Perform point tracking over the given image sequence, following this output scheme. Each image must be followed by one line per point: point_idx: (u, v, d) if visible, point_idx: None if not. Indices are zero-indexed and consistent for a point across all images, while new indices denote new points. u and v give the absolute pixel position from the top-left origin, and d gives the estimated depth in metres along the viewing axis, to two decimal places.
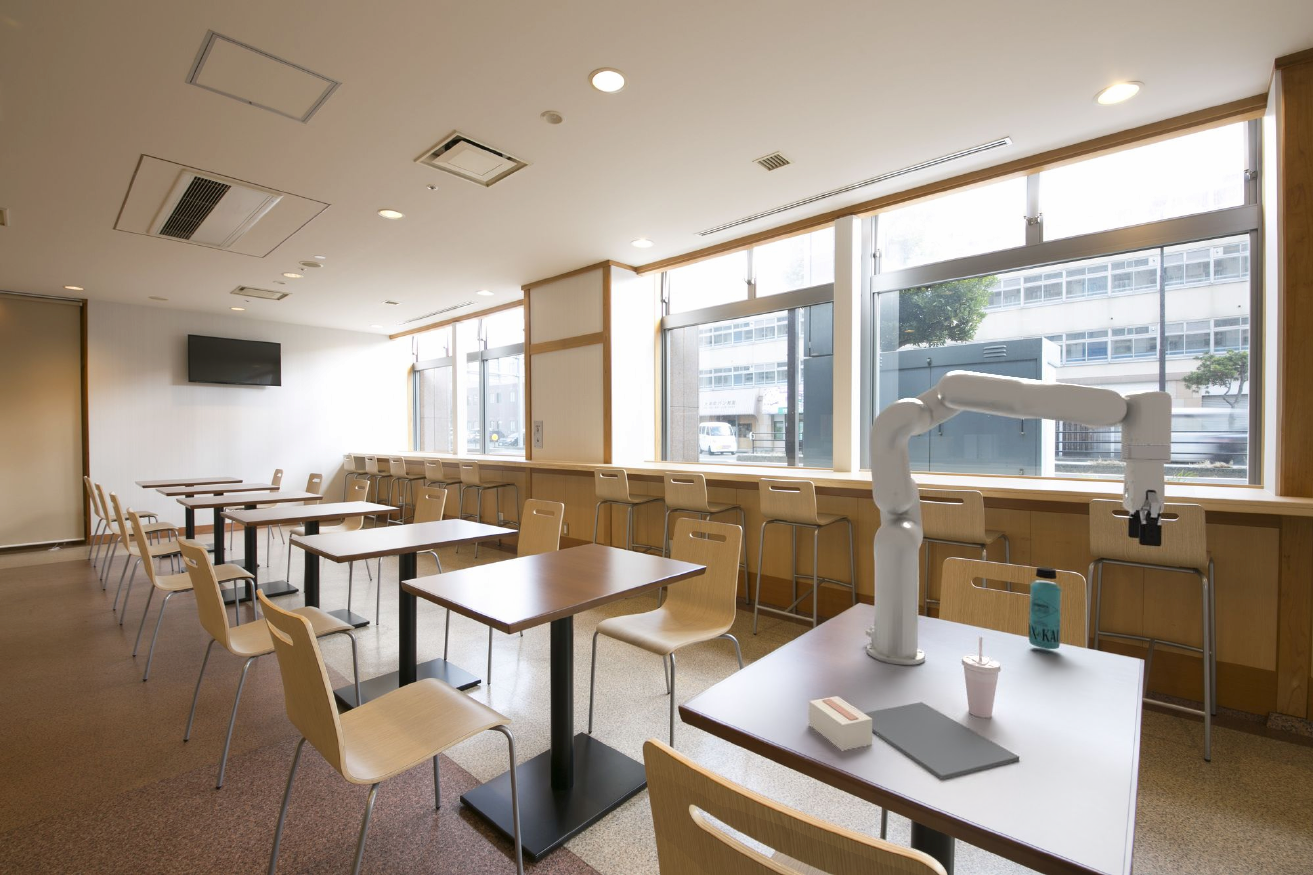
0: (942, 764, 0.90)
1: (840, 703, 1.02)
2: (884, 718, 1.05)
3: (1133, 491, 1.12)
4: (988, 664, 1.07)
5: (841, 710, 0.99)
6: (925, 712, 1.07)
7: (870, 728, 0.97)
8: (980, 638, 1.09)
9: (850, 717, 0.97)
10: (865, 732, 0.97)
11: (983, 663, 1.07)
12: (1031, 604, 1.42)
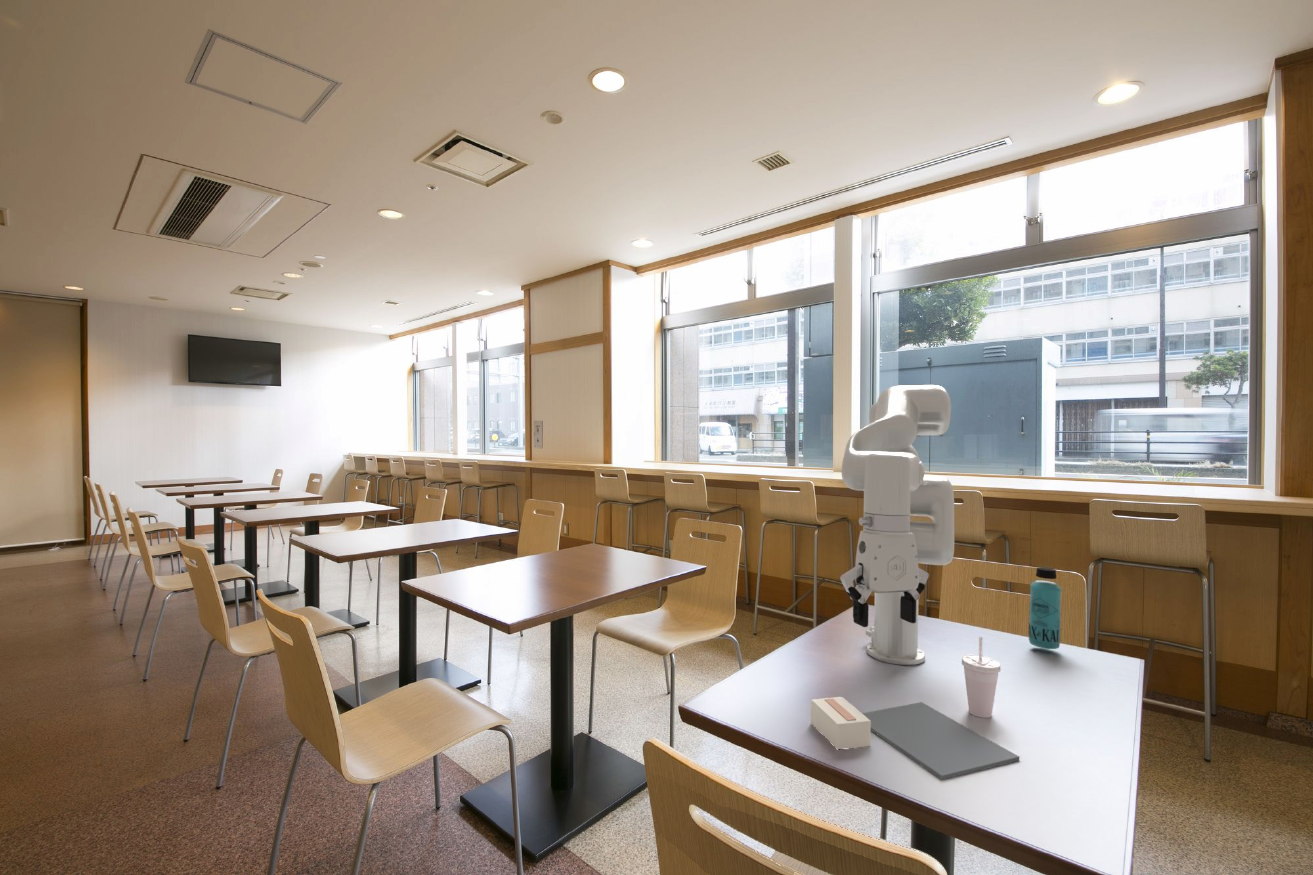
0: (942, 764, 0.90)
1: (842, 703, 1.02)
2: (884, 718, 1.05)
3: (917, 566, 1.01)
4: (988, 664, 1.07)
5: (841, 710, 0.99)
6: (925, 712, 1.07)
7: (868, 730, 0.96)
8: (980, 638, 1.09)
9: (848, 717, 0.97)
10: (862, 734, 0.96)
11: (983, 663, 1.07)
12: (1031, 604, 1.42)
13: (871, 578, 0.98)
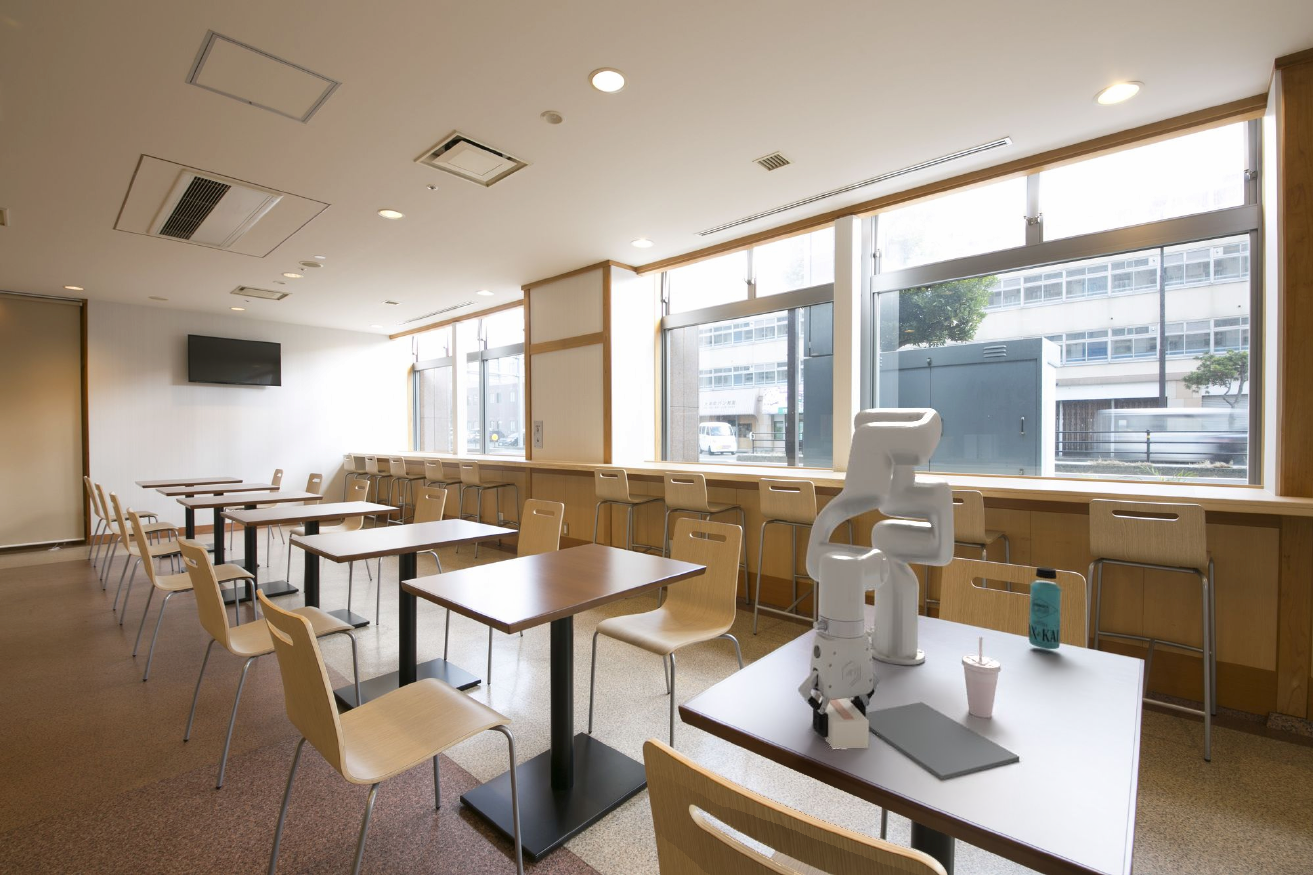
0: (942, 764, 0.90)
1: (844, 703, 1.02)
2: (884, 718, 1.05)
3: (872, 669, 0.99)
4: (988, 664, 1.07)
5: (840, 709, 0.99)
6: (925, 712, 1.07)
7: (866, 730, 0.96)
8: (980, 638, 1.09)
9: (845, 716, 0.97)
10: (860, 733, 0.96)
11: (983, 663, 1.07)
12: (1031, 604, 1.42)
13: (826, 686, 0.96)
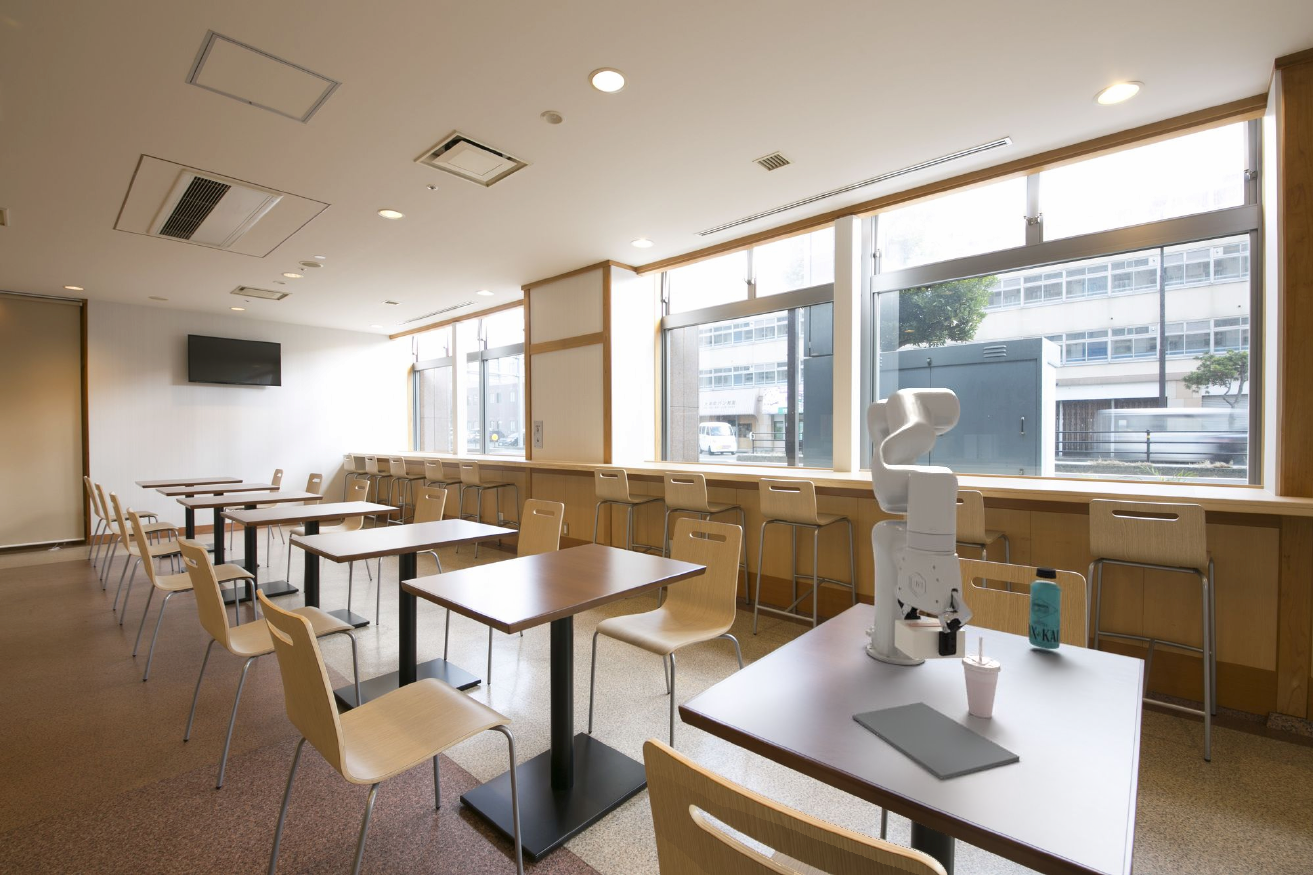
0: (942, 764, 0.90)
1: None
2: (884, 718, 1.05)
3: (940, 591, 0.94)
4: (988, 664, 1.07)
5: (925, 624, 1.00)
6: (925, 712, 1.07)
7: (912, 640, 0.96)
8: (980, 638, 1.09)
9: (910, 624, 1.00)
10: (908, 641, 0.97)
11: (983, 663, 1.07)
12: (1031, 604, 1.42)
13: (897, 587, 1.03)
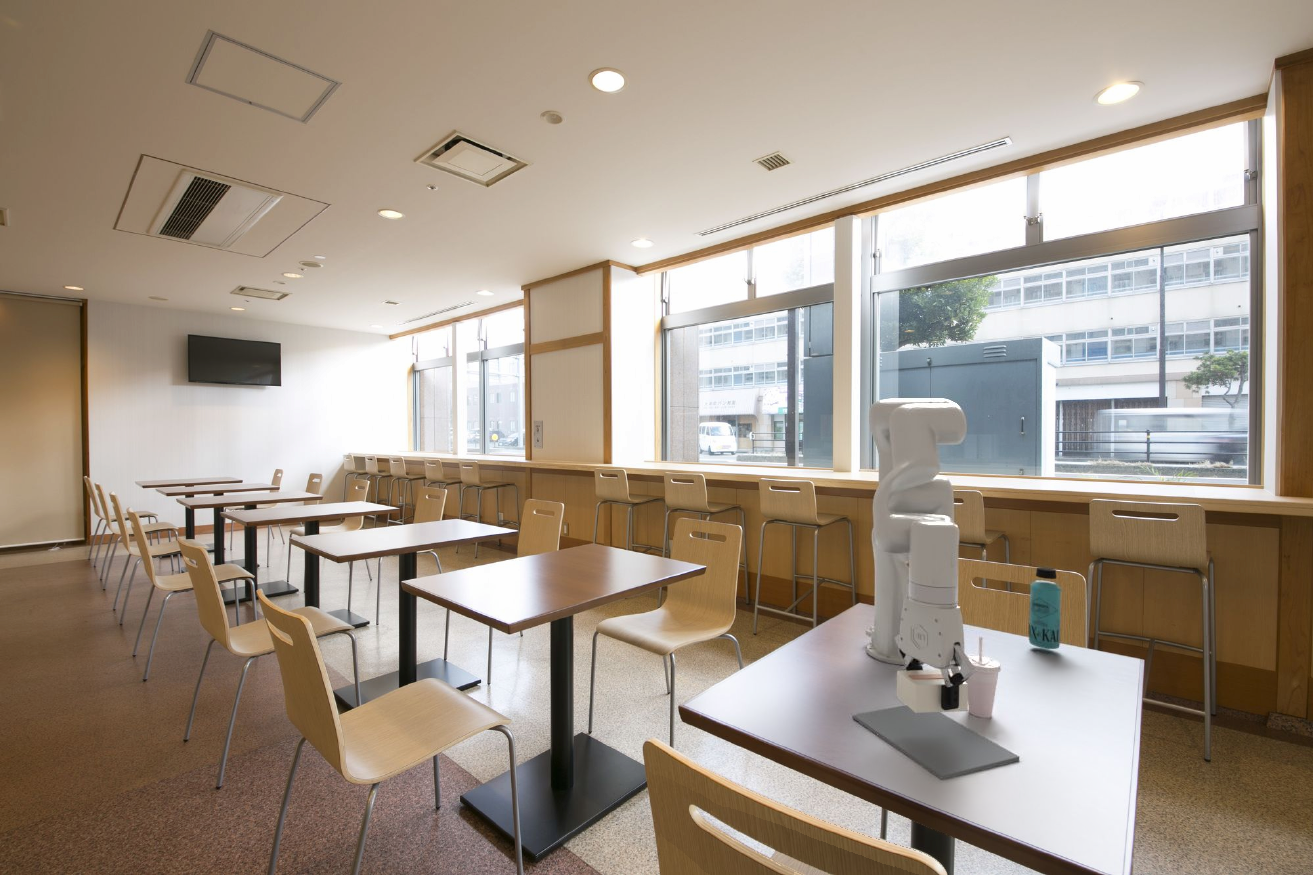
0: (942, 764, 0.90)
1: None
2: (884, 718, 1.05)
3: (942, 645, 0.94)
4: (988, 664, 1.07)
5: (927, 676, 0.99)
6: None
7: (914, 693, 0.96)
8: (980, 638, 1.09)
9: (912, 675, 0.99)
10: (911, 694, 0.97)
11: (983, 663, 1.07)
12: (1031, 604, 1.42)
13: (899, 637, 1.03)
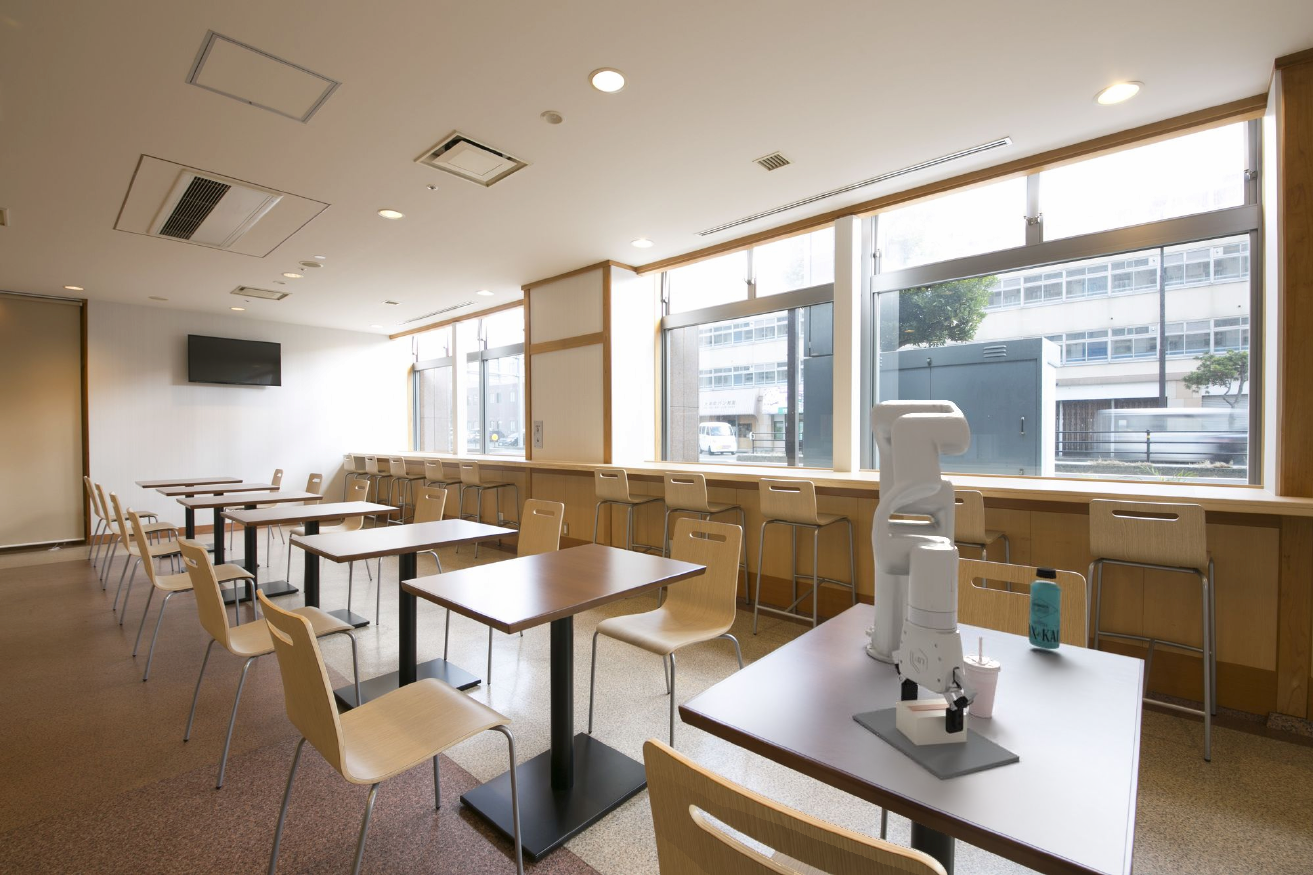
0: (942, 764, 0.90)
1: None
2: (884, 718, 1.05)
3: (941, 670, 0.94)
4: (988, 664, 1.07)
5: (927, 706, 0.99)
6: None
7: (915, 726, 0.96)
8: (980, 638, 1.09)
9: (912, 707, 0.99)
10: (911, 726, 0.97)
11: (983, 663, 1.07)
12: (1031, 604, 1.42)
13: (899, 659, 1.03)
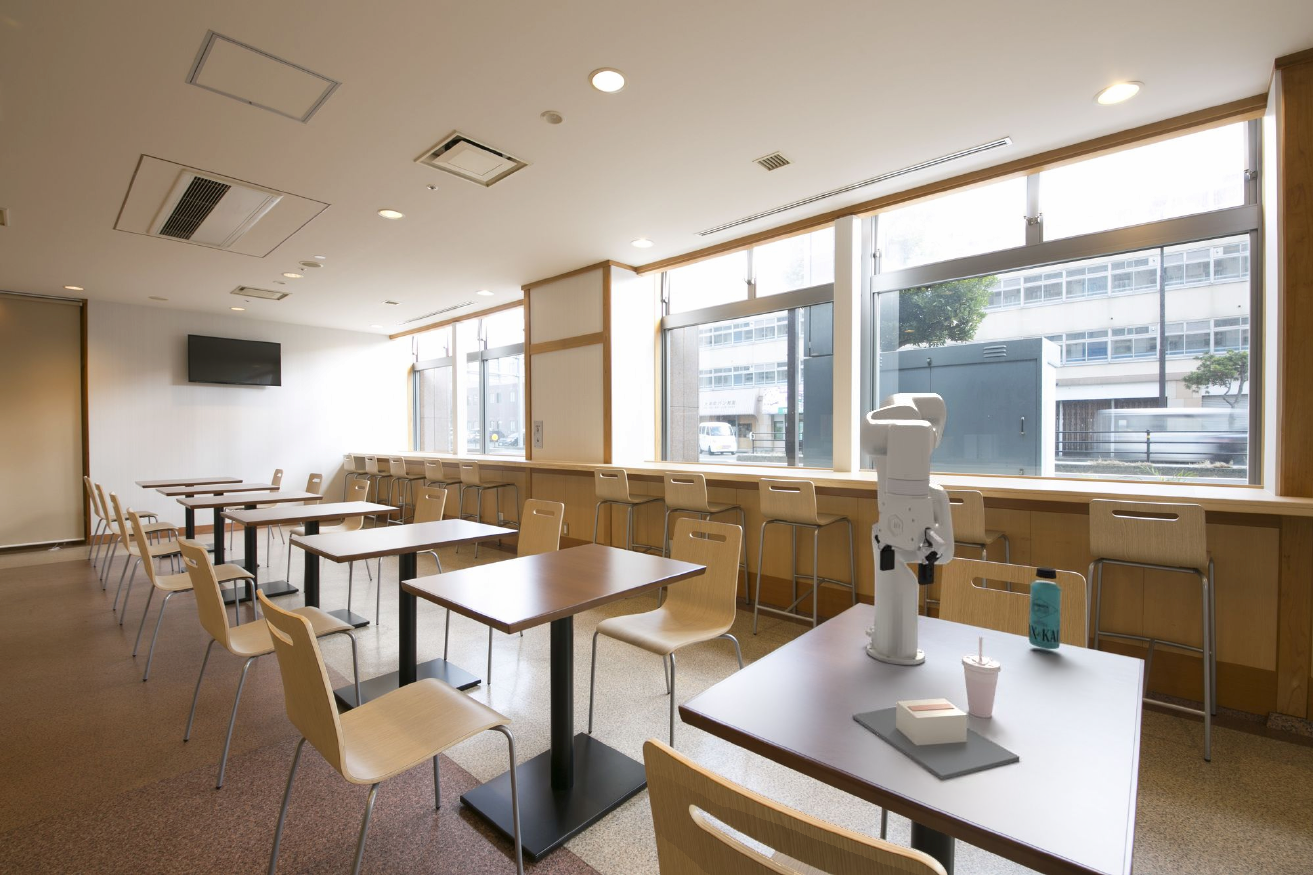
0: (942, 764, 0.90)
1: (947, 711, 0.98)
2: (884, 718, 1.05)
3: (914, 530, 1.06)
4: (988, 664, 1.07)
5: (927, 706, 0.99)
6: None
7: (915, 726, 0.96)
8: (980, 638, 1.09)
9: (912, 707, 0.99)
10: (911, 726, 0.97)
11: (983, 663, 1.07)
12: (1031, 604, 1.42)
13: (878, 529, 1.15)
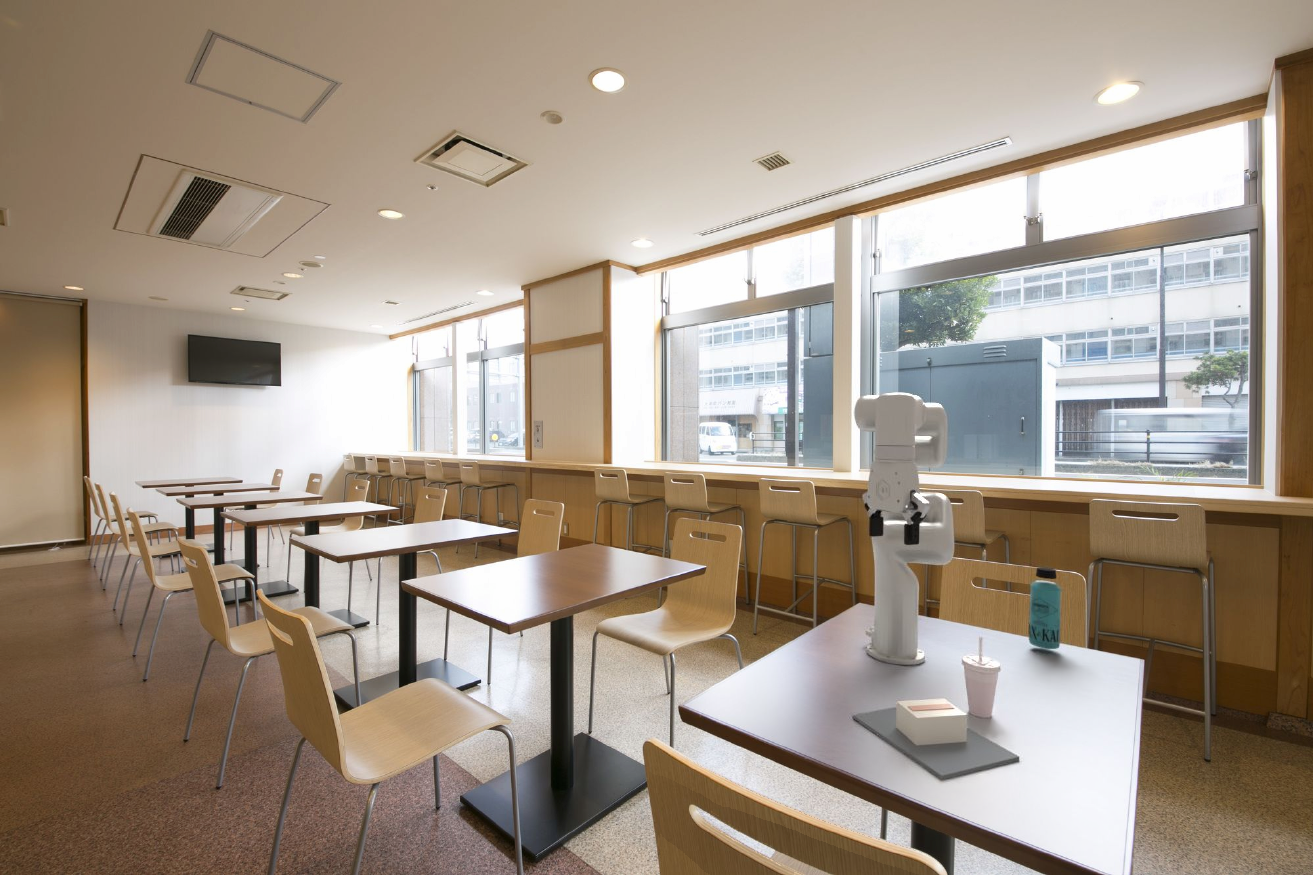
0: (942, 764, 0.90)
1: (947, 711, 0.98)
2: (884, 718, 1.05)
3: (900, 492, 1.13)
4: (988, 664, 1.07)
5: (927, 706, 0.99)
6: None
7: (915, 726, 0.96)
8: (980, 638, 1.09)
9: (912, 707, 0.99)
10: (911, 726, 0.97)
11: (983, 663, 1.07)
12: (1031, 604, 1.42)
13: (867, 496, 1.21)
